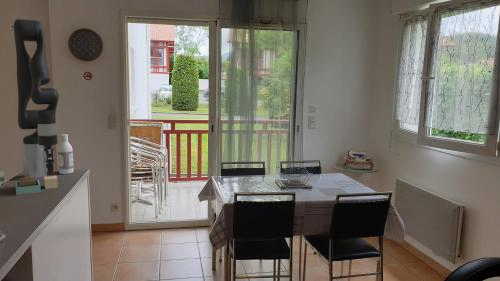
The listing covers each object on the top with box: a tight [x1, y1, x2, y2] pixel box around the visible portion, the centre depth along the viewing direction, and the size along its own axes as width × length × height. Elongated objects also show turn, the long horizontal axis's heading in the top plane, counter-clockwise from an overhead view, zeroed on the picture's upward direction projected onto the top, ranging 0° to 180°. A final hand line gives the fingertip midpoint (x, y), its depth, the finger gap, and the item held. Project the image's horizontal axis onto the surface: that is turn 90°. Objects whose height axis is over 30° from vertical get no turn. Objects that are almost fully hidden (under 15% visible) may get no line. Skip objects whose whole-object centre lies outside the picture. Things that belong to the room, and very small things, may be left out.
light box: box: [43, 175, 59, 190], centre depth 172 cm, size 5×5×5 cm
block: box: [18, 176, 37, 187], centre depth 166 cm, size 6×6×5 cm
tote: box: [14, 178, 42, 196], centre depth 167 cm, size 11×9×4 cm
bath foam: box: [57, 133, 75, 175], centre depth 198 cm, size 7×7×20 cm
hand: (49, 169), depth 171 cm, fingers open, 8 cm apart
